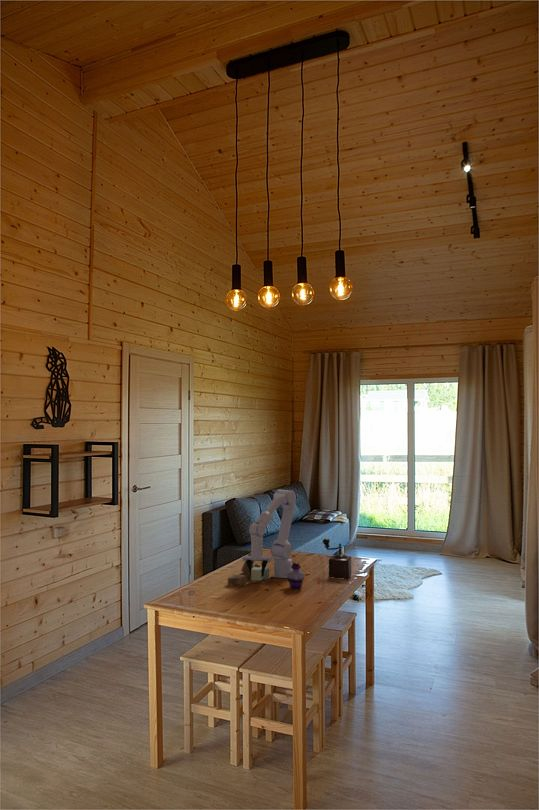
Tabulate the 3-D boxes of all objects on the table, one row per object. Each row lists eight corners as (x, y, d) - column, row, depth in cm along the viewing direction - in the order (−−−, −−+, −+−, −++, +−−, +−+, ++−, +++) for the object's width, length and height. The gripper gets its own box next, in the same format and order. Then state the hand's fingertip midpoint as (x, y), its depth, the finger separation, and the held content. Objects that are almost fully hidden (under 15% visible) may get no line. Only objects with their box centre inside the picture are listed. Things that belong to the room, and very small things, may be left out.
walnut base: (245, 583, 265) (245, 575, 265) (241, 587, 258) (241, 579, 258) (232, 582, 266) (232, 574, 267) (227, 586, 260) (227, 578, 260)
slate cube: (269, 576, 276) (269, 567, 277) (267, 579, 271) (267, 569, 272) (259, 576, 277) (259, 566, 277) (258, 579, 272) (258, 569, 272)
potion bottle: (286, 585, 261) (286, 560, 262) (304, 585, 261) (304, 560, 262) (287, 590, 252) (287, 564, 253) (305, 590, 252) (305, 564, 253)
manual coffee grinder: (352, 574, 282) (352, 539, 283) (348, 579, 272) (348, 543, 273) (323, 571, 287) (323, 537, 288) (318, 576, 277) (318, 541, 278)
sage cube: (262, 577, 268) (262, 567, 268) (261, 580, 263) (261, 570, 263) (253, 577, 269) (253, 567, 269) (251, 580, 264) (251, 569, 264)
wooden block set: (254, 584, 271) (262, 565, 271) (238, 577, 272) (246, 558, 272) (257, 573, 289) (265, 556, 289) (242, 566, 290) (250, 549, 290)
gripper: (241, 549, 264) (241, 577, 263) (270, 550, 262) (270, 578, 261) (243, 546, 271) (243, 573, 270) (272, 547, 268) (272, 574, 268)
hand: (257, 575), depth 266 cm, fingers closed on sage cube, 5 cm apart
